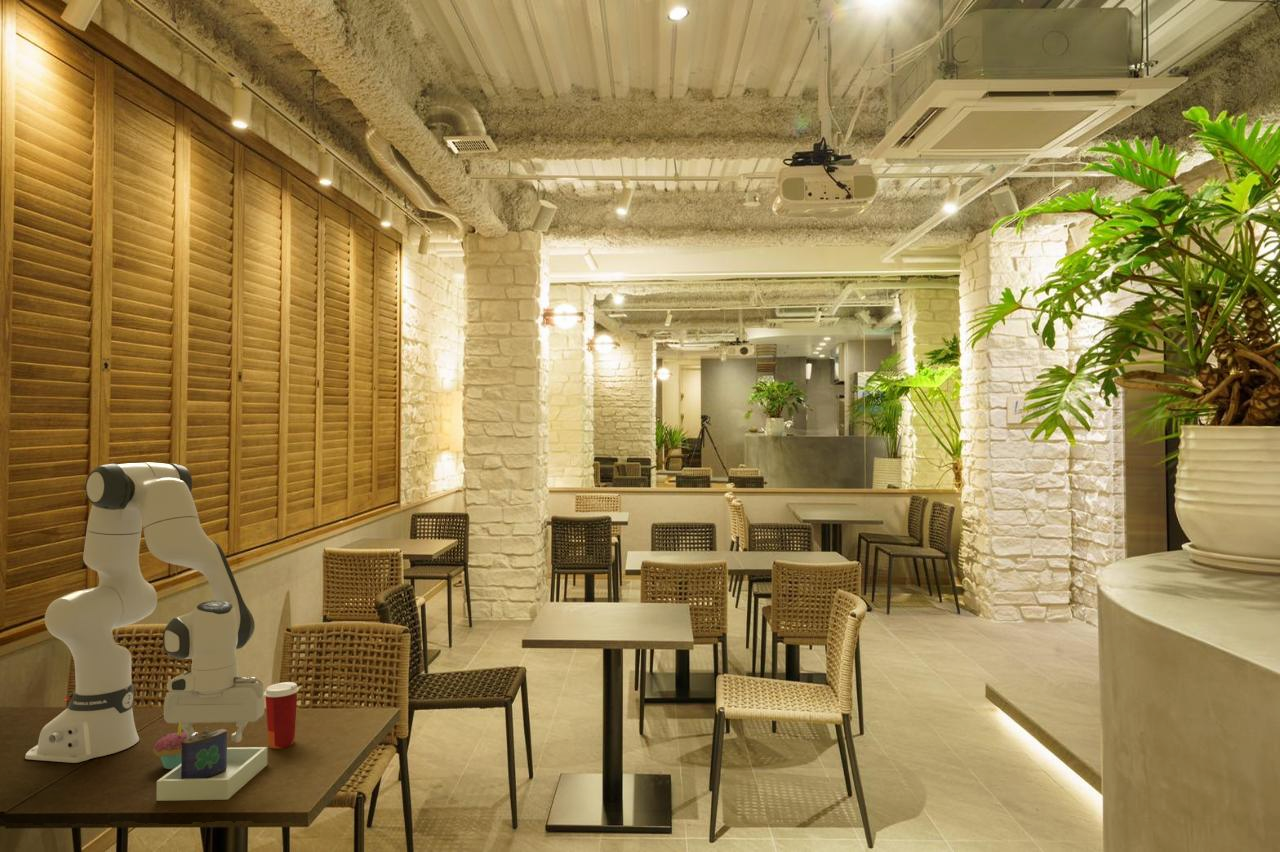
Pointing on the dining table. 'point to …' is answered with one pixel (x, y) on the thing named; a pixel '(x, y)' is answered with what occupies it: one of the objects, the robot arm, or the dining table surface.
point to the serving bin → (215, 777)
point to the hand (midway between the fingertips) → (214, 741)
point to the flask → (204, 755)
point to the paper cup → (281, 714)
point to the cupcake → (170, 748)
